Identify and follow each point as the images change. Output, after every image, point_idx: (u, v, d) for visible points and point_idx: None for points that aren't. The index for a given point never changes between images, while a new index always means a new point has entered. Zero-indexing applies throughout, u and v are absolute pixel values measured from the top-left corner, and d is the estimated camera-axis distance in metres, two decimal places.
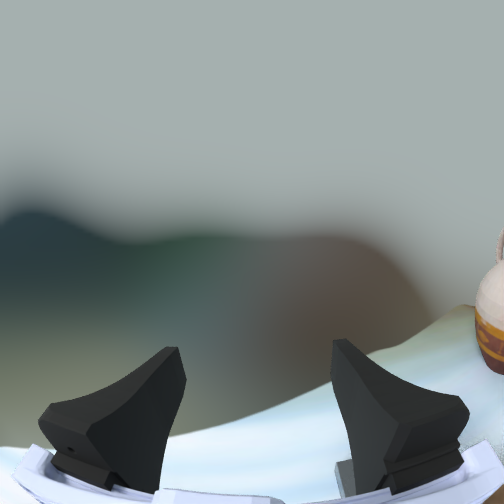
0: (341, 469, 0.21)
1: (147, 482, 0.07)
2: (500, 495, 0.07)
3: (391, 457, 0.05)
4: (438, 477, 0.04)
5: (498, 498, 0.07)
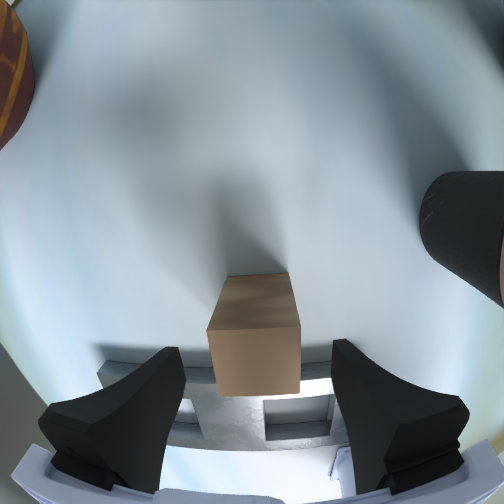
0: None
1: (147, 482, 0.07)
2: None
3: (391, 457, 0.05)
4: (438, 477, 0.04)
5: None
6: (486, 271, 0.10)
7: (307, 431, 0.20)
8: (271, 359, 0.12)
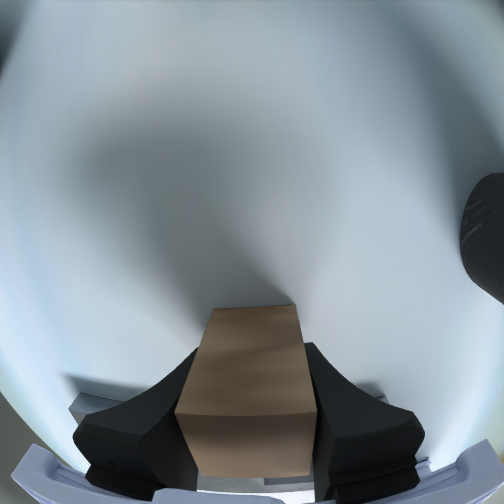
0: None
1: (187, 489, 0.06)
2: None
3: (335, 469, 0.05)
4: (390, 495, 0.04)
5: None
6: None
7: (312, 473, 0.16)
8: (271, 446, 0.07)
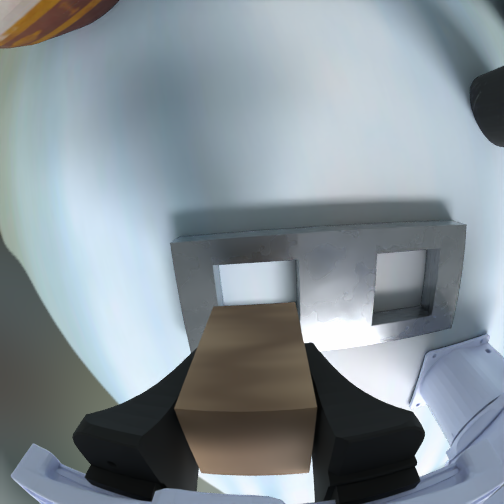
0: None
1: (187, 489, 0.06)
2: None
3: (335, 469, 0.05)
4: (390, 495, 0.04)
5: None
6: None
7: (408, 314, 0.19)
8: (271, 443, 0.07)
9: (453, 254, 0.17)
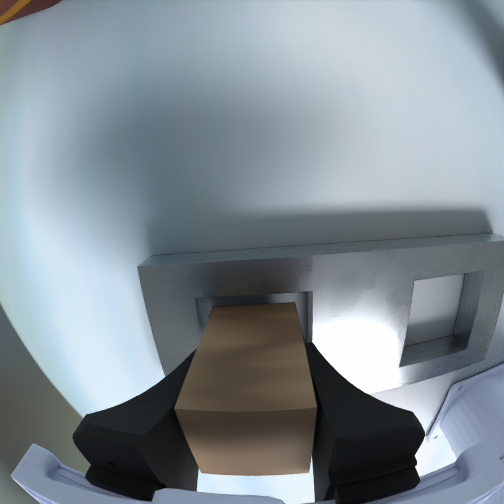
0: None
1: (187, 489, 0.06)
2: None
3: (335, 469, 0.05)
4: (390, 495, 0.04)
5: None
6: None
7: (440, 349, 0.14)
8: (271, 443, 0.07)
9: (497, 276, 0.12)
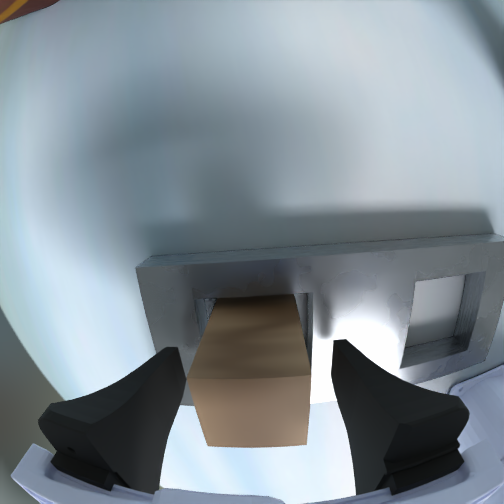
0: (189, 402, 0.15)
1: (147, 482, 0.07)
2: None
3: (391, 457, 0.05)
4: (438, 477, 0.04)
5: None
6: None
7: (441, 350, 0.14)
8: (272, 411, 0.08)
9: (498, 277, 0.12)
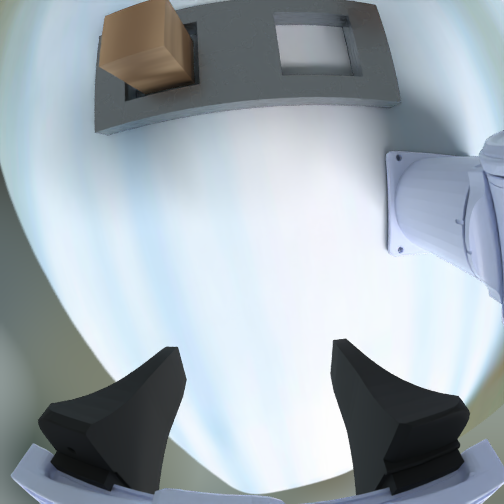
0: (107, 124, 0.16)
1: (147, 482, 0.07)
2: (135, 63, 0.12)
3: (391, 457, 0.05)
4: (438, 477, 0.04)
5: (140, 65, 0.12)
6: None
7: None
8: (142, 20, 0.10)
9: (368, 23, 0.14)
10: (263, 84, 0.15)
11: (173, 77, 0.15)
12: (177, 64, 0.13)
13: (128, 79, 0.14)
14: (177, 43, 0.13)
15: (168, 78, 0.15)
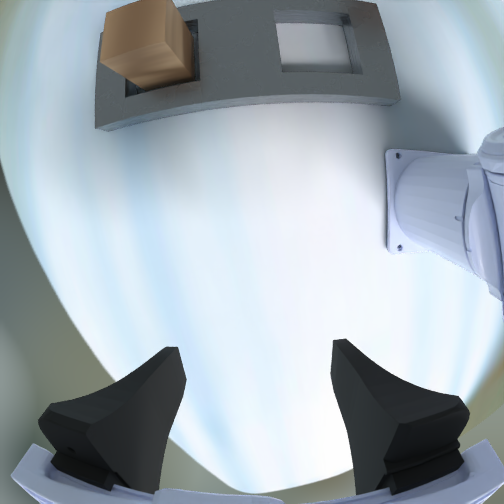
0: (107, 120, 0.16)
1: (147, 482, 0.07)
2: (136, 59, 0.12)
3: (391, 457, 0.05)
4: (438, 477, 0.04)
5: (141, 61, 0.12)
6: None
7: None
8: (144, 16, 0.10)
9: (368, 21, 0.13)
10: (263, 81, 0.15)
11: (174, 73, 0.15)
12: (178, 61, 0.13)
13: (128, 75, 0.14)
14: (178, 40, 0.13)
15: (168, 74, 0.15)
